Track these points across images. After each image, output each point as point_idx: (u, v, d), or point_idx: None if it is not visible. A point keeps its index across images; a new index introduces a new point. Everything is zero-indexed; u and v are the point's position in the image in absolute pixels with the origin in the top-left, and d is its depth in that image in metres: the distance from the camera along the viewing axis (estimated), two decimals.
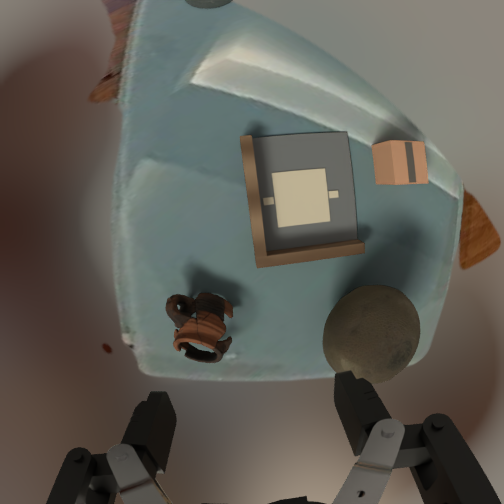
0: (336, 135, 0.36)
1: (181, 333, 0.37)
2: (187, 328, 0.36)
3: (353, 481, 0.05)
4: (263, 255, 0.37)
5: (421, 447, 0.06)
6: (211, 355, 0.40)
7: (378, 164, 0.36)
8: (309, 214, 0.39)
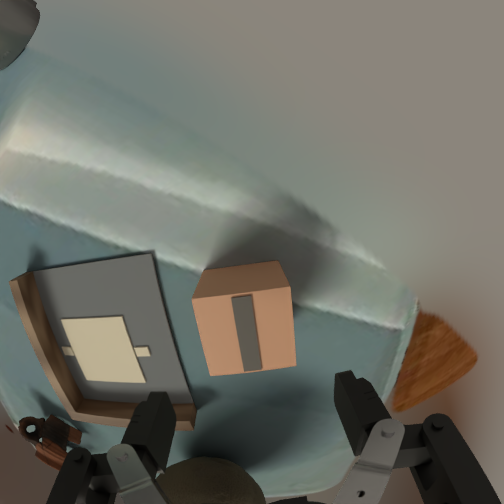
0: (133, 261, 0.22)
1: (37, 450, 0.22)
2: (38, 449, 0.22)
3: (353, 481, 0.05)
4: (72, 411, 0.23)
5: (421, 447, 0.06)
6: None
7: None
8: (116, 372, 0.24)
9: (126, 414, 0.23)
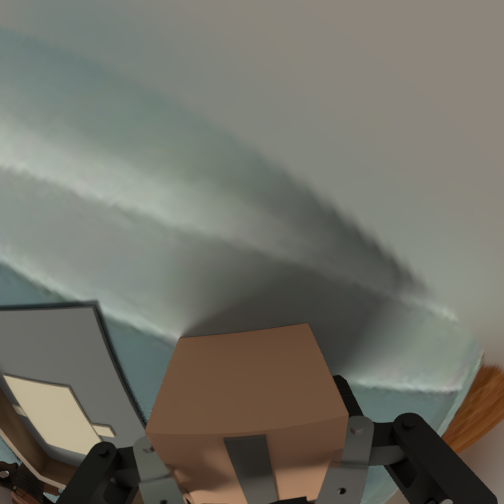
0: (69, 317, 0.12)
1: (13, 497, 0.12)
2: (14, 497, 0.12)
3: (331, 479, 0.05)
4: (36, 473, 0.13)
5: (391, 446, 0.07)
6: None
7: None
8: (78, 444, 0.14)
9: None
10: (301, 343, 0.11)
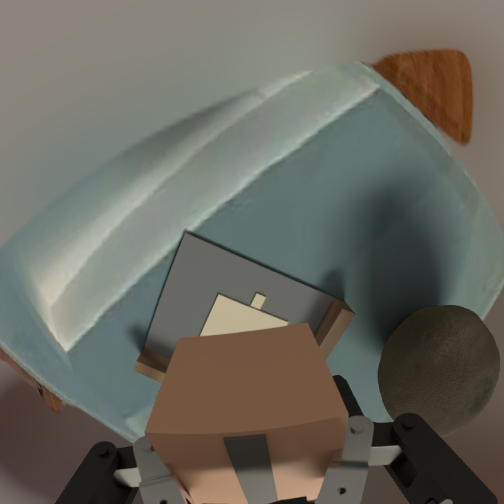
0: (182, 251, 0.26)
1: None
2: None
3: (331, 479, 0.05)
4: None
5: (391, 445, 0.07)
6: None
7: None
8: None
9: None
10: (301, 343, 0.11)
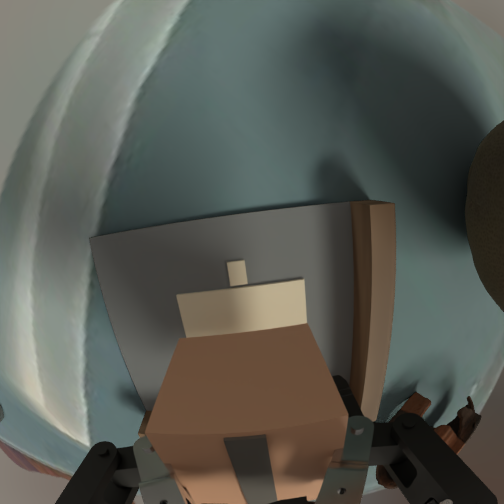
0: (100, 263, 0.16)
1: None
2: None
3: (331, 479, 0.05)
4: None
5: (391, 445, 0.07)
6: None
7: None
8: None
9: (365, 328, 0.15)
10: (301, 343, 0.11)
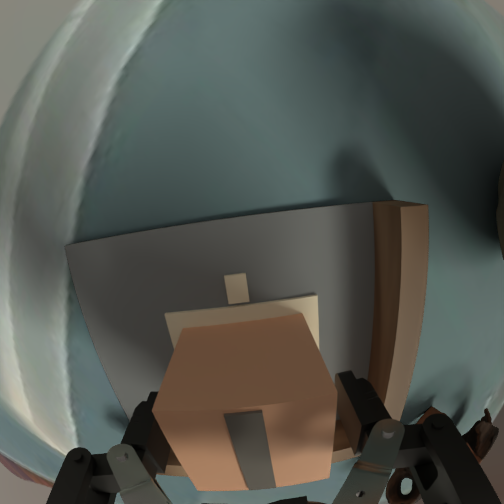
0: (77, 275, 0.13)
1: None
2: None
3: (353, 481, 0.05)
4: None
5: (421, 447, 0.06)
6: None
7: None
8: None
9: (387, 351, 0.12)
10: (295, 331, 0.12)
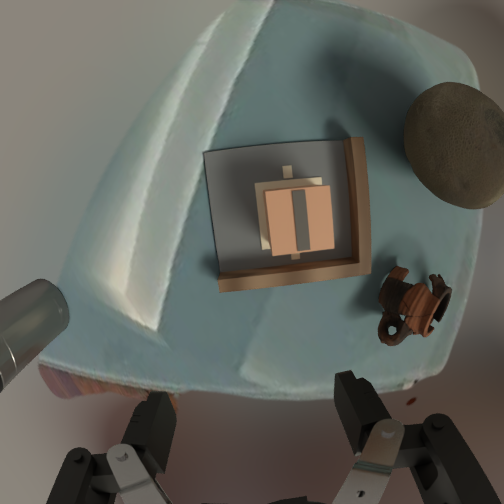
0: (209, 166, 0.30)
1: (418, 330, 0.30)
2: (414, 325, 0.29)
3: (353, 481, 0.05)
4: (358, 266, 0.30)
5: (421, 447, 0.06)
6: None
7: (266, 218, 0.30)
8: None
9: (355, 202, 0.29)
10: (313, 185, 0.29)
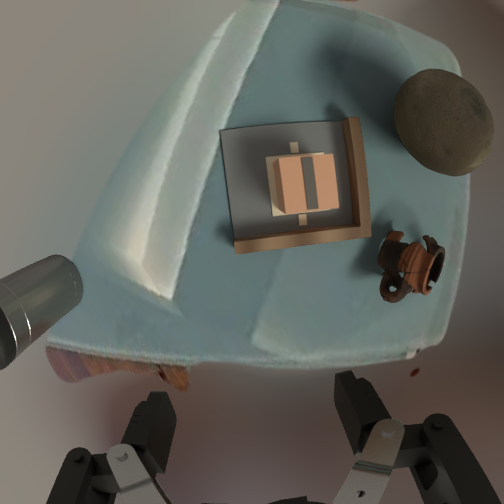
0: (225, 142, 0.33)
1: (417, 287, 0.33)
2: (413, 282, 0.33)
3: (353, 481, 0.05)
4: (359, 229, 0.34)
5: (421, 447, 0.06)
6: (437, 255, 0.34)
7: (277, 186, 0.33)
8: None
9: (354, 172, 0.33)
10: None
